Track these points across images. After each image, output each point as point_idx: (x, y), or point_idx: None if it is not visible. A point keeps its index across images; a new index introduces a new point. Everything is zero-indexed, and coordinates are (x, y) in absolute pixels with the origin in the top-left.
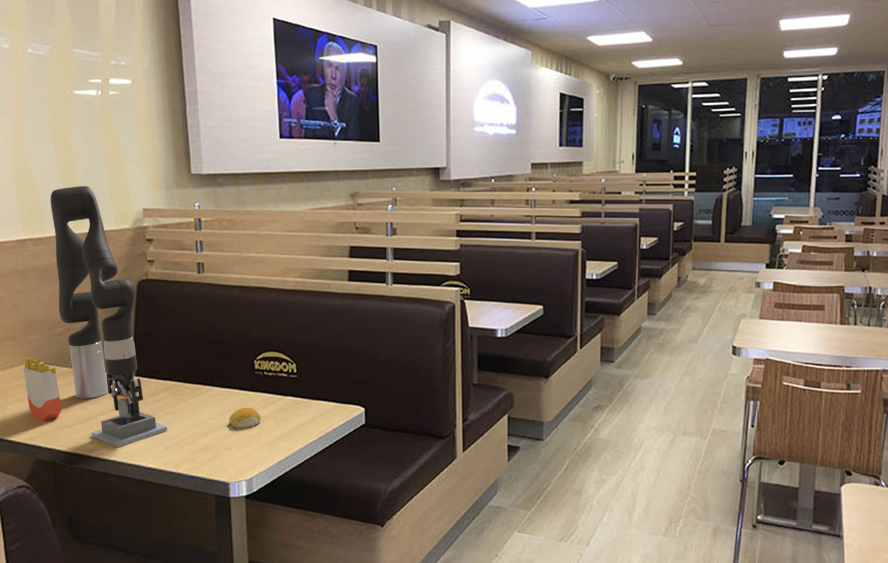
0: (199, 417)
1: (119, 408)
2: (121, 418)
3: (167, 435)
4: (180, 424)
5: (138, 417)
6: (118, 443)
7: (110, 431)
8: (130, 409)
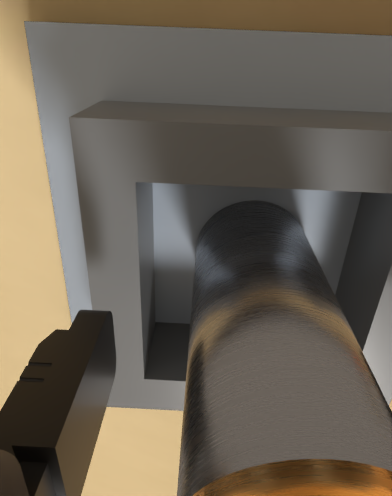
0: (131, 491)
1: (292, 333)
2: (254, 259)
3: (6, 325)
4: (117, 425)
5: None
6: (28, 37)
7: (277, 114)
8: (67, 366)
